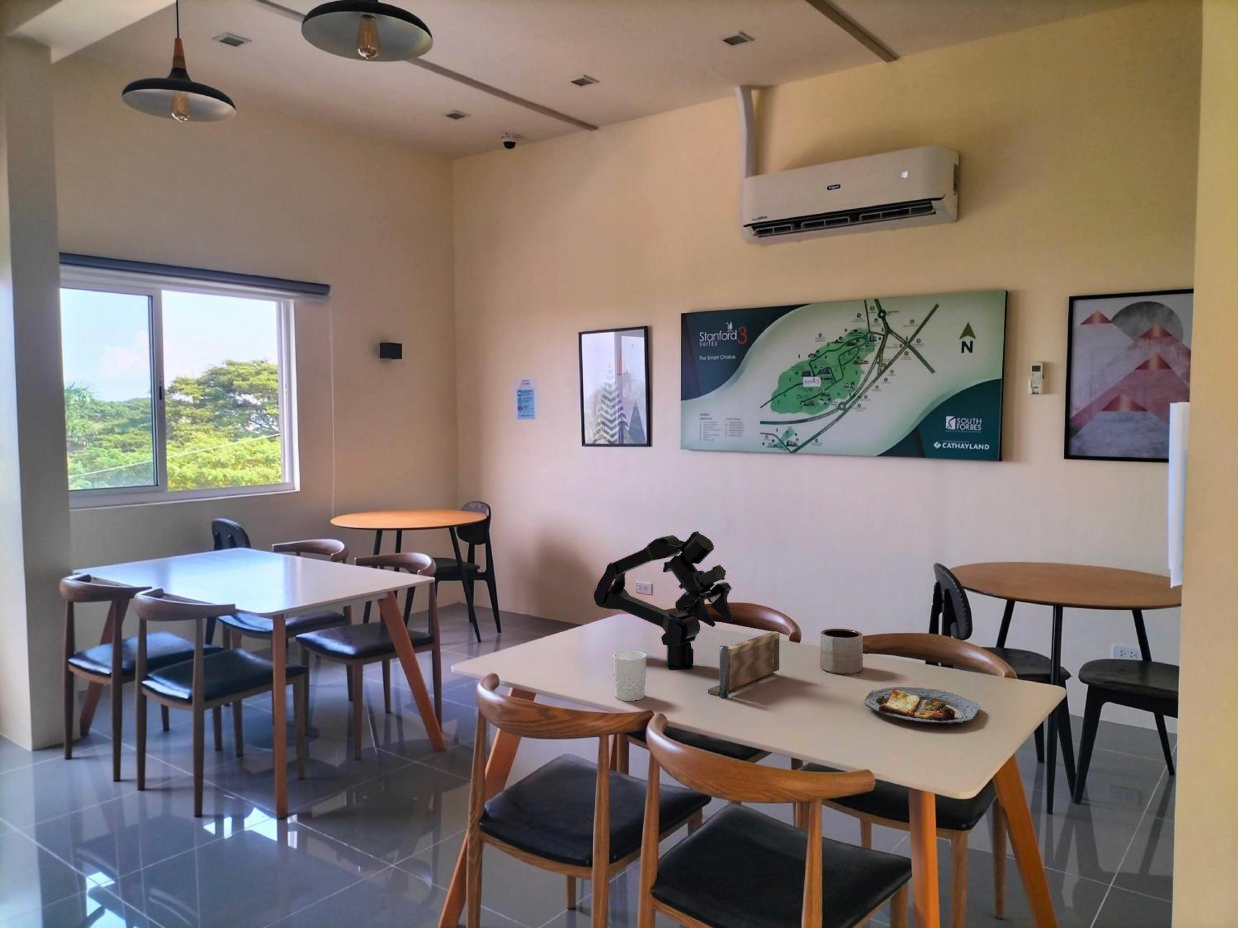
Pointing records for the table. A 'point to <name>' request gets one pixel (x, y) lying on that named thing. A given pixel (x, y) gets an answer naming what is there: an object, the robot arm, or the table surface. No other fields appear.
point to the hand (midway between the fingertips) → (723, 623)
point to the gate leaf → (753, 659)
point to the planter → (841, 651)
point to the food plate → (908, 706)
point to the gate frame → (725, 676)
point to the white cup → (629, 675)
